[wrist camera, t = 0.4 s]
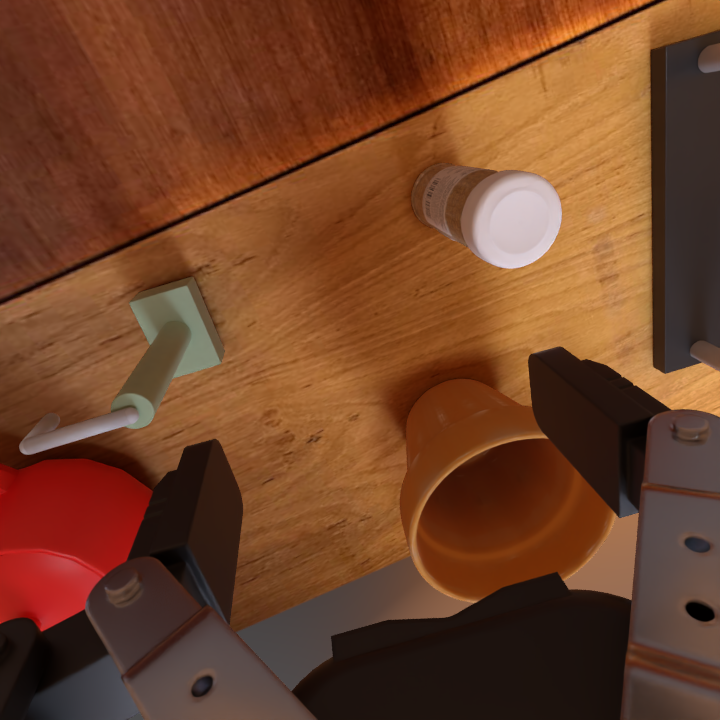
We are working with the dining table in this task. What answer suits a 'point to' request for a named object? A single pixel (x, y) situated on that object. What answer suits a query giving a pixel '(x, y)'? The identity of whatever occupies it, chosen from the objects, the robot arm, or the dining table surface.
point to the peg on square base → (147, 364)
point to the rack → (686, 202)
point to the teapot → (63, 534)
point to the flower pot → (492, 495)
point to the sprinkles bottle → (490, 211)
